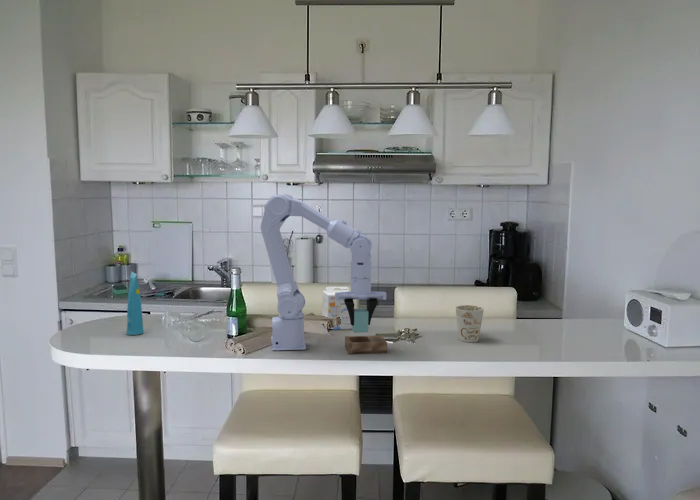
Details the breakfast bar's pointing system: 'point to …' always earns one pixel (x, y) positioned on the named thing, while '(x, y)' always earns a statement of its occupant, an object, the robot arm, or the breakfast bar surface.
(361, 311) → the teal block
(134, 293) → the tube
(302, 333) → the robot arm
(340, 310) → the ink box
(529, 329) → the breakfast bar surface
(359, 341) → the walnut base
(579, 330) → the breakfast bar surface
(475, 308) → the mug
